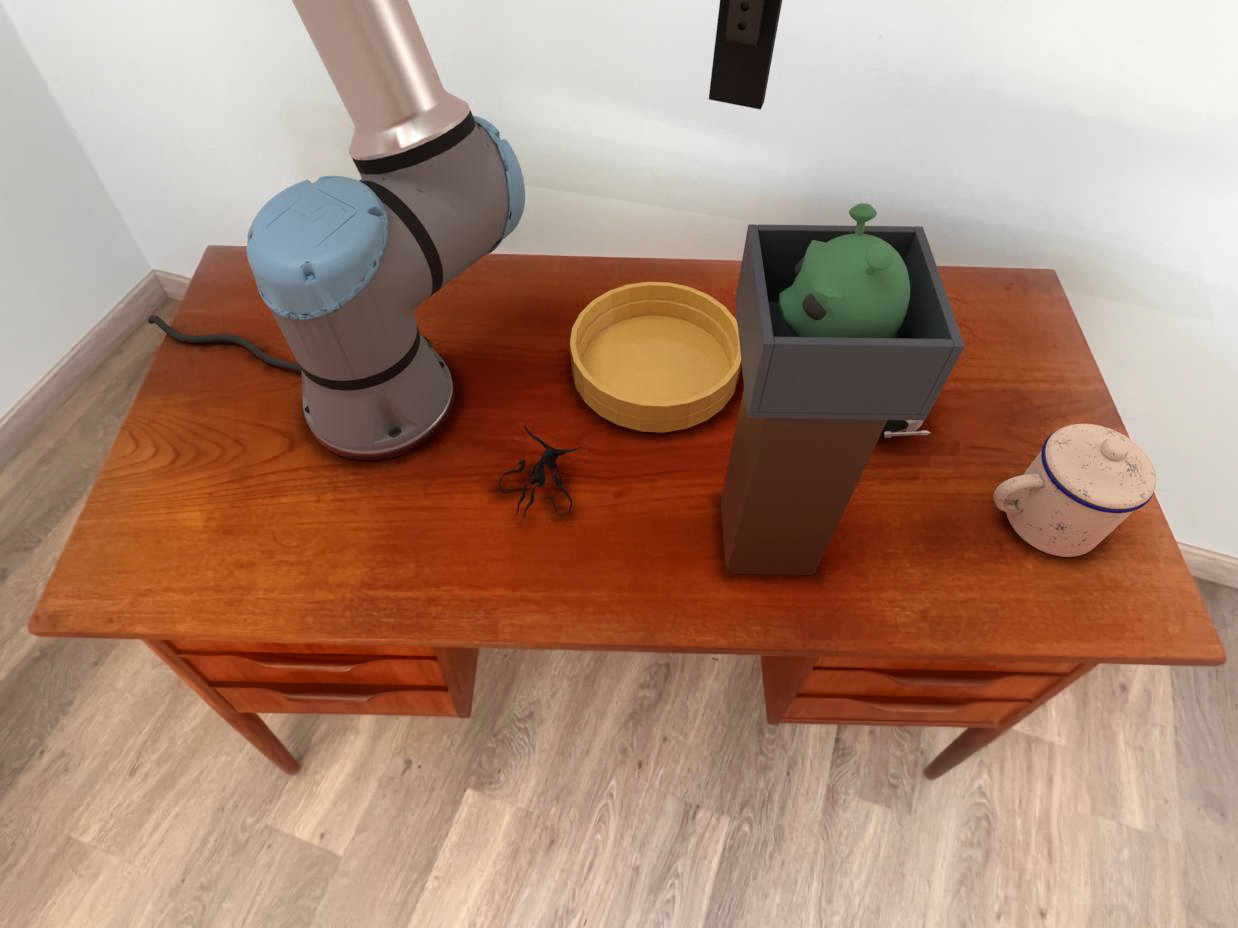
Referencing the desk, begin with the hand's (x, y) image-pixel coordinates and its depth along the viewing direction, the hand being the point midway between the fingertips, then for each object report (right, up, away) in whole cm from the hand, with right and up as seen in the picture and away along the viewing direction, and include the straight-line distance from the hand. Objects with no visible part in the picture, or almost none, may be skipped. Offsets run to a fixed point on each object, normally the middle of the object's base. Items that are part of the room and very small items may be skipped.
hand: (765, 40), depth 41 cm
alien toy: (+6, -16, +8) cm, 19 cm away
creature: (-16, -26, +31) cm, 44 cm away
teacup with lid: (+32, -29, +29) cm, 52 cm away
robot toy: (+16, -17, +38) cm, 45 cm away
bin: (+6, -30, +28) cm, 42 cm away
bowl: (-4, -13, +40) cm, 43 cm away
